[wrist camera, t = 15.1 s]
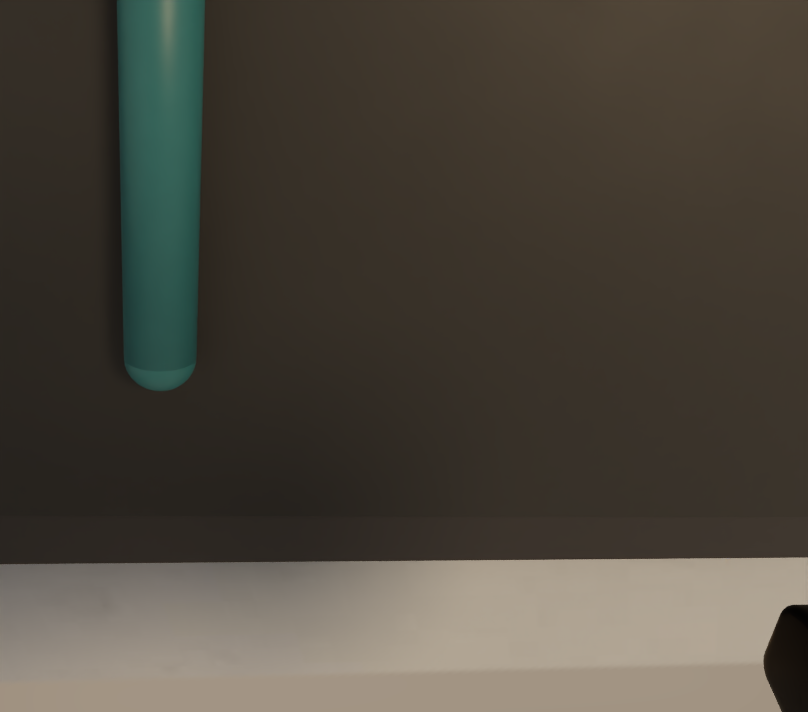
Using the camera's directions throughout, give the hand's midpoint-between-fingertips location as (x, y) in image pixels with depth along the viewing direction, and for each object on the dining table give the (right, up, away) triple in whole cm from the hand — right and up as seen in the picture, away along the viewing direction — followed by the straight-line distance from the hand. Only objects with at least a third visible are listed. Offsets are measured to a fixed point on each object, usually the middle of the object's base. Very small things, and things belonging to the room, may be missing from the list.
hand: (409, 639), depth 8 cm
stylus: (-5, +3, +7) cm, 9 cm away
